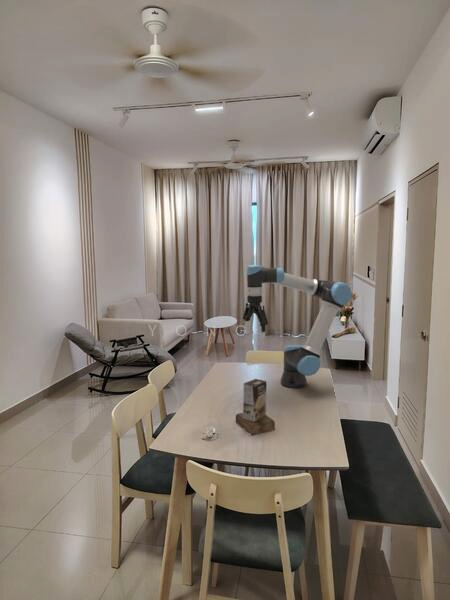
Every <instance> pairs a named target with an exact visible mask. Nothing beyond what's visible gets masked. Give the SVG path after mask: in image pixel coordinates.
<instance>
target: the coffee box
mask: <svg viewBox="0 0 450 600" xmlns="http://www.w3.org/2000/svg"><path fill="white" fill-rule="evenodd" d="M242 398H243V403H242V404H243V405H242V408H243V409H242V411H243V412H242V413H243V418H244V419H247V420H250V421H253V422H255V421H257V420H259V419H261V418H262V417H264V416H266V415H267V381H266V380H263V379H257V378H254V379H251V380H249V381H247V382H244V383H243V397H242Z"/></svg>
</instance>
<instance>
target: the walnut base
mask: <svg viewBox="0 0 450 600" xmlns="http://www.w3.org/2000/svg"><path fill="white" fill-rule="evenodd" d="M235 423H236V424H237V425H239V426H240V427H241V428H242V429H243V428H244V429H245V430H244V429H243V430H244V431H245V432H247V433H248V434H249V433H250V434H251V435H250V434H249V435H250V436H252V435H257V434H261V433H264V432H269V431H272V430H275V429H276V424H275V423H276V421H274V419H272V418H271V417H270V416H268V415H267V414H266V416H264V417H262V418H261V419H259V420H257V421H255V422H253V421H250V420H247V419H244V418H243V412H239V413H236V414H235Z"/></svg>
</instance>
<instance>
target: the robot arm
mask: <svg viewBox="0 0 450 600" xmlns="http://www.w3.org/2000/svg"><path fill="white" fill-rule="evenodd" d="M246 282H247V283H246V285H247V287H246V288H247V298H246V299H247V302H246V303H245V307H244V312H243V316H242V320H244V322H245V325H244V326H245V334H251V333H252V332H251V331H252V329H251V326H252V325H251V323H252V322H251V318H252V316H253V314H255V316H256V317H257V320H258V321H259V339H265V338H266V326H267V325H269V321H268V317H267V315H266V311H265V305H261V303H262V302H263V296H262V294H263V284H273V285H278V286H281V287H285V288H289V289H293V290H297V291H301V292H304V293H308V294H309V295H310V296H312V297H313V296H314V297H316V298H318V299H320V300H321V301H320V302H321V307H320V309H319V312H318V314H317V316H316V319H315V320H314V323H313V325H312V327H311V330H310V332H309V333H308V334H309V335H308V337H307V339H306V341H305V343H304V345H302V344H288V345H285V346H284V348H283V371H282V375H281V378H280V385H282V386H283V387H286V388H289V389H301V388H304V387H306V386H307V385H308V384H307V382H308V381H307V377H311V376H313V375H316V374H317V373H318V372H319V370H320V368H321V360H320V358H321V355H322V354H321V352H320V351H321V348H322V346H323V344H324V342H325V340H326V337H327V336H328V333H329V331H330V329H331V326H332V324H333V322H334V320H335V319H336V318H335V317H336V315H337V313H338V312H339V311H342V309H343V306H344V305H347V304H348V303H349V302H350V301H351V298H352V290H351V287H350V286H349V285H348V284H347V283H345V282H341V281H334V280H333V281H332V280H324V279H323V280H321V279H317V278H313V279H309V278H305V277H303V276H299V275H294V274H291V273H286V272H285V271H284V269H283V268H281V267H274V268H273V267H266V266H265V267H264V266H262V264H250V265H249V264H248V266H247V267H246Z"/></svg>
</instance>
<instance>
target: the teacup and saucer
mask: <svg viewBox="0 0 450 600" xmlns="http://www.w3.org/2000/svg"><path fill="white" fill-rule="evenodd" d="M205 432H206V434H205V435H206V437H207V436H208V437H207V438H209V437H211V438H212V437H213V436H214V434H213V433H216V429H215V428H214V426H206V427H205Z"/></svg>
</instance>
